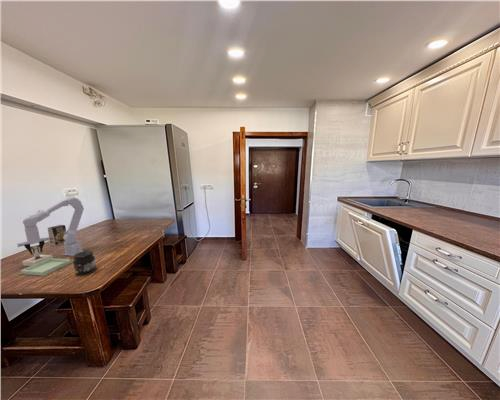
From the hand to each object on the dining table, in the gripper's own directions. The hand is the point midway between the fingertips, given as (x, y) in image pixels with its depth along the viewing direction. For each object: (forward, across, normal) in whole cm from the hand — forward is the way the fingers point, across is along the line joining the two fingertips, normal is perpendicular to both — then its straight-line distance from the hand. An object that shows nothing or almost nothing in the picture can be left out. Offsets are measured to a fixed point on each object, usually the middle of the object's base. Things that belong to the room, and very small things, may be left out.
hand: (36, 253), depth 128 cm
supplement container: (+7, -17, +42) cm, 46 cm away
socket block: (+7, 0, 0) cm, 7 cm away
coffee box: (+7, -15, -33) cm, 37 cm away
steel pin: (+4, 0, 0) cm, 4 cm away
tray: (+7, -3, +17) cm, 18 cm away
